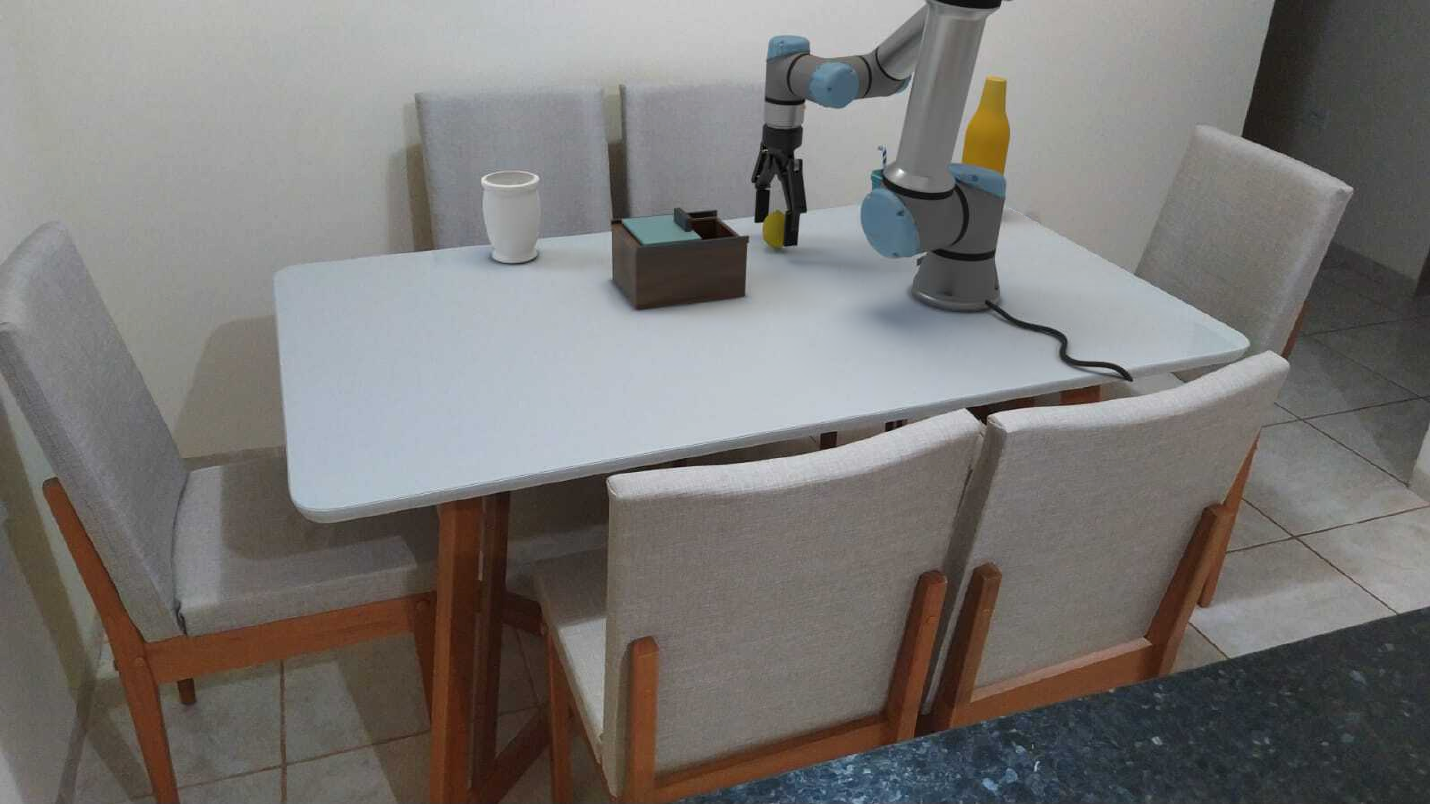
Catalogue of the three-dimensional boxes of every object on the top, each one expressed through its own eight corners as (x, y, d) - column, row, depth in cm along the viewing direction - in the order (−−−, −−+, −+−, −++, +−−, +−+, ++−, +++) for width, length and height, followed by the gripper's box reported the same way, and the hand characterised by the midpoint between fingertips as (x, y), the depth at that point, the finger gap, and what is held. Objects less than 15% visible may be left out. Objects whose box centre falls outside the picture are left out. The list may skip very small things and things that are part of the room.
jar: (512, 243, 204) (507, 167, 197) (554, 253, 199) (550, 176, 192) (474, 258, 196) (468, 179, 189) (517, 270, 191) (512, 190, 184)
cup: (855, 212, 228) (861, 143, 220) (889, 211, 229) (896, 142, 222) (874, 233, 215) (882, 161, 208) (910, 232, 217) (919, 160, 210)
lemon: (774, 256, 202) (777, 216, 198) (755, 248, 205) (757, 209, 202) (795, 251, 205) (798, 211, 201) (776, 243, 208) (778, 204, 205)
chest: (746, 297, 183) (749, 236, 178) (637, 311, 176) (637, 248, 171) (714, 267, 196) (716, 209, 190) (611, 279, 189) (610, 219, 183)
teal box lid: (701, 241, 176) (702, 224, 175) (645, 247, 173) (645, 229, 171) (675, 217, 187) (675, 201, 185) (621, 222, 183) (621, 205, 182)
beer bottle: (975, 206, 234) (996, 73, 220) (1005, 218, 227) (1029, 81, 213) (944, 212, 229) (963, 76, 215) (974, 224, 222) (996, 85, 209)
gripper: (832, 140, 185) (821, 254, 195) (773, 107, 205) (766, 211, 215) (793, 143, 182) (784, 258, 192) (738, 109, 202) (732, 214, 213)
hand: (775, 233), depth 204 cm, fingers open, 13 cm apart
